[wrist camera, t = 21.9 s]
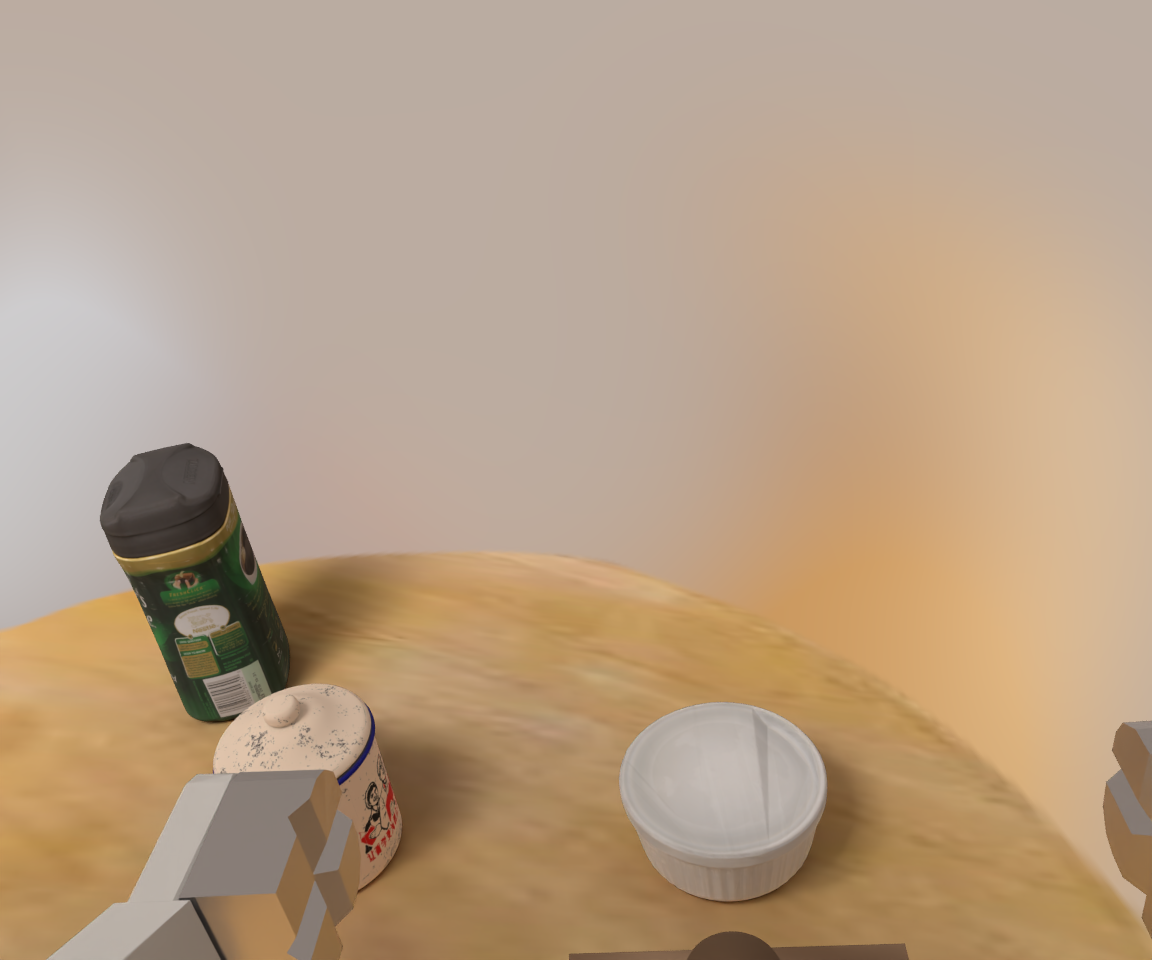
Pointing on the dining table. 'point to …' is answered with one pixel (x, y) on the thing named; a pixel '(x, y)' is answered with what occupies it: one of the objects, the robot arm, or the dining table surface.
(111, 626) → the dining table surface
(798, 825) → the ramekin
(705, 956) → the walnut cover
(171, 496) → the coffee jar
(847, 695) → the dining table surface
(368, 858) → the teacup with lid
